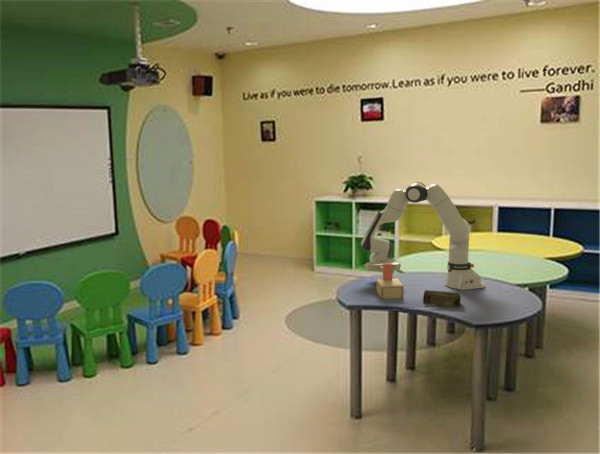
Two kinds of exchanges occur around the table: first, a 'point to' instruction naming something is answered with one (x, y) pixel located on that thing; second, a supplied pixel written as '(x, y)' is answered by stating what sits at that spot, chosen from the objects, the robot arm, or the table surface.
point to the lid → (388, 277)
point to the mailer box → (389, 292)
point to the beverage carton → (442, 298)
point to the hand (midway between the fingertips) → (385, 269)
